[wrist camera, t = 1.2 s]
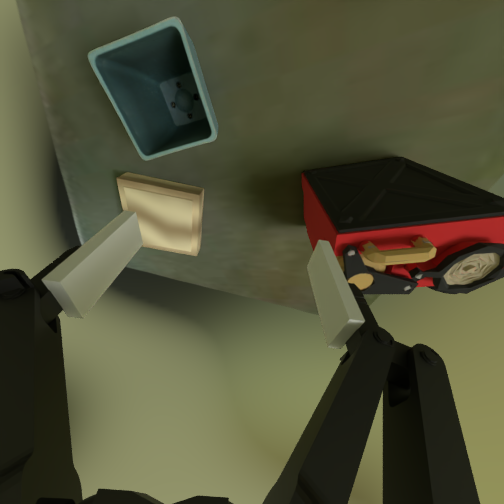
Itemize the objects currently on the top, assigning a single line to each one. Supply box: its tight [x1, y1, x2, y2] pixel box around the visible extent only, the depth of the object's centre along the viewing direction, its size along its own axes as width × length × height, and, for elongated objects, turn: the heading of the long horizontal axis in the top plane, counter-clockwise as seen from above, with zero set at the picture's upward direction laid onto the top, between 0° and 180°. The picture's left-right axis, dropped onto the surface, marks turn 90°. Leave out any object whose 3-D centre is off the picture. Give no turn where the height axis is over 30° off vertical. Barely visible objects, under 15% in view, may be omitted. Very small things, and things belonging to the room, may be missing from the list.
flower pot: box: [87, 16, 218, 161], centre depth 22 cm, size 9×9×9 cm
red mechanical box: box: [302, 157, 504, 294], centre depth 24 cm, size 16×10×20 cm, turn 99°
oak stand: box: [116, 172, 204, 256], centre depth 34 cm, size 12×12×3 cm
